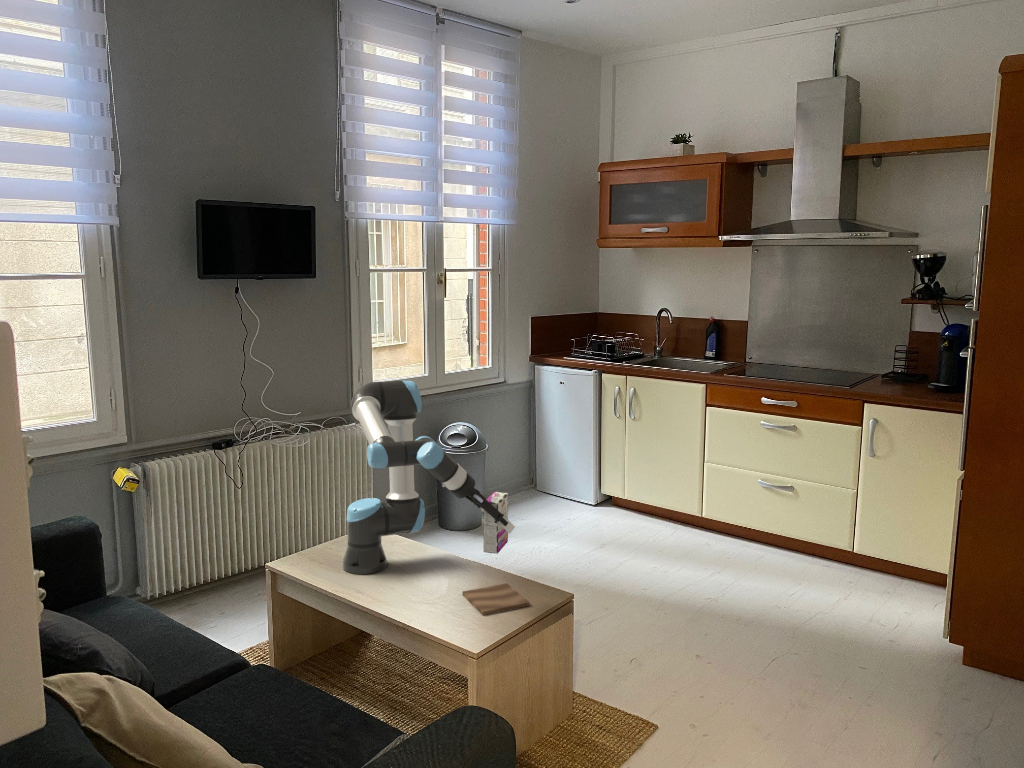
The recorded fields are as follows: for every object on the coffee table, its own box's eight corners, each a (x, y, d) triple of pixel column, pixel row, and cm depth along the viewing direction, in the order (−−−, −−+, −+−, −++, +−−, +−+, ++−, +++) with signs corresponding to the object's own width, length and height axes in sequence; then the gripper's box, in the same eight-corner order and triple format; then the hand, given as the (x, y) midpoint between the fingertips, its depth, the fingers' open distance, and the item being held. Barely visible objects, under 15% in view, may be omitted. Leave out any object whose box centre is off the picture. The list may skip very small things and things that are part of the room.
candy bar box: (493, 540, 253) (494, 491, 250) (508, 542, 251) (509, 492, 249) (482, 552, 242) (482, 501, 240) (497, 554, 241) (498, 502, 238)
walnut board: (462, 595, 253) (462, 591, 253) (507, 586, 260) (507, 583, 260) (482, 615, 239) (482, 611, 239) (529, 606, 246) (529, 602, 246)
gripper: (436, 480, 247) (481, 521, 257) (465, 502, 227) (512, 545, 236) (452, 462, 249) (496, 504, 258) (482, 482, 228) (528, 526, 237)
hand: (503, 524), depth 247 cm, fingers closed on candy bar box, 11 cm apart
